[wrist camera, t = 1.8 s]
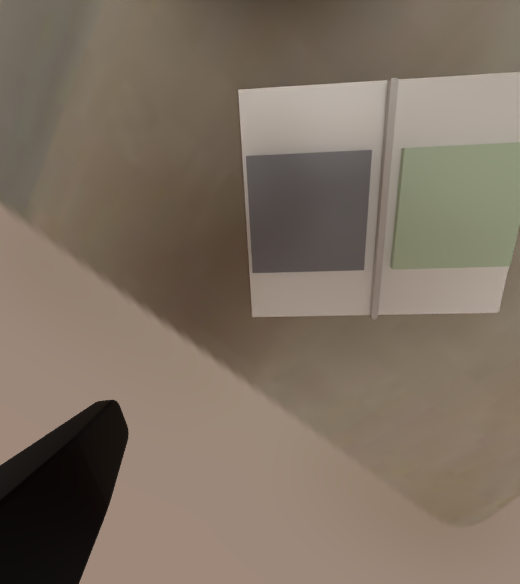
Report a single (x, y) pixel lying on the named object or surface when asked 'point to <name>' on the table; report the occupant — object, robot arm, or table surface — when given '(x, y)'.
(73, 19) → the table surface
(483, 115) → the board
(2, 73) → the table surface
